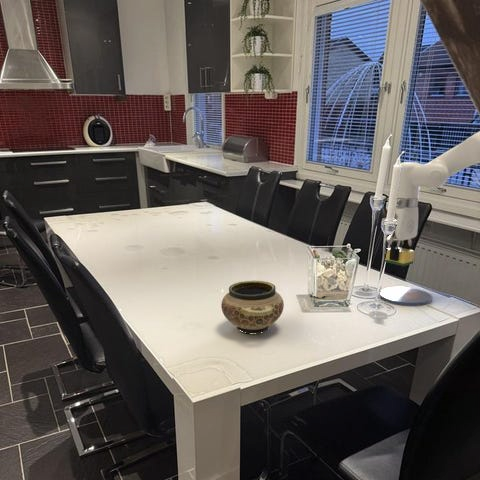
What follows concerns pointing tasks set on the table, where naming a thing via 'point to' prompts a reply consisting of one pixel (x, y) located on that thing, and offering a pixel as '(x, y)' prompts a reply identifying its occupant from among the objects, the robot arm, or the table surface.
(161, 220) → the table surface
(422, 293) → the plate
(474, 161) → the robot arm
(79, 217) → the table surface
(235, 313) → the ceramic bowl
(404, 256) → the sponge
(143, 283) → the table surface
